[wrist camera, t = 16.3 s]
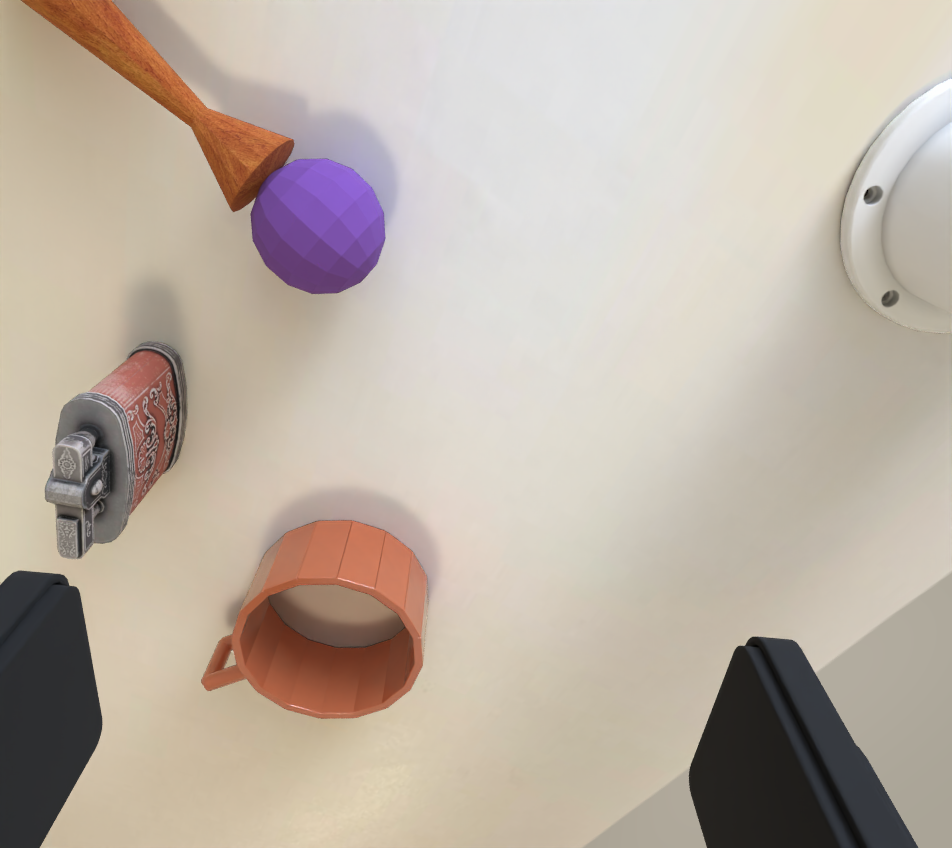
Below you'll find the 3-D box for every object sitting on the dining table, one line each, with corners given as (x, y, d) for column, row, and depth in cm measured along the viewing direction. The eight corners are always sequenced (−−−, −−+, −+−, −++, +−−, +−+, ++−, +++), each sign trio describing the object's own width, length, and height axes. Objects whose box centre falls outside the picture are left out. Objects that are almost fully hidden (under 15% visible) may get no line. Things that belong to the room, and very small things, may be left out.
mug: (380, 496, 42) (368, 552, 37) (454, 623, 47) (452, 688, 42) (179, 571, 45) (143, 633, 40) (268, 685, 49) (245, 753, 44)
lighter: (126, 335, 37) (16, 416, 28) (190, 348, 38) (101, 433, 29) (125, 461, 41) (28, 569, 32) (184, 472, 41) (104, 582, 32)
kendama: (-12, -178, 25) (409, 225, 29) (70, -102, 30) (412, 225, 35) (-106, -42, 25) (318, 328, 30) (-9, 8, 31) (334, 312, 36)
